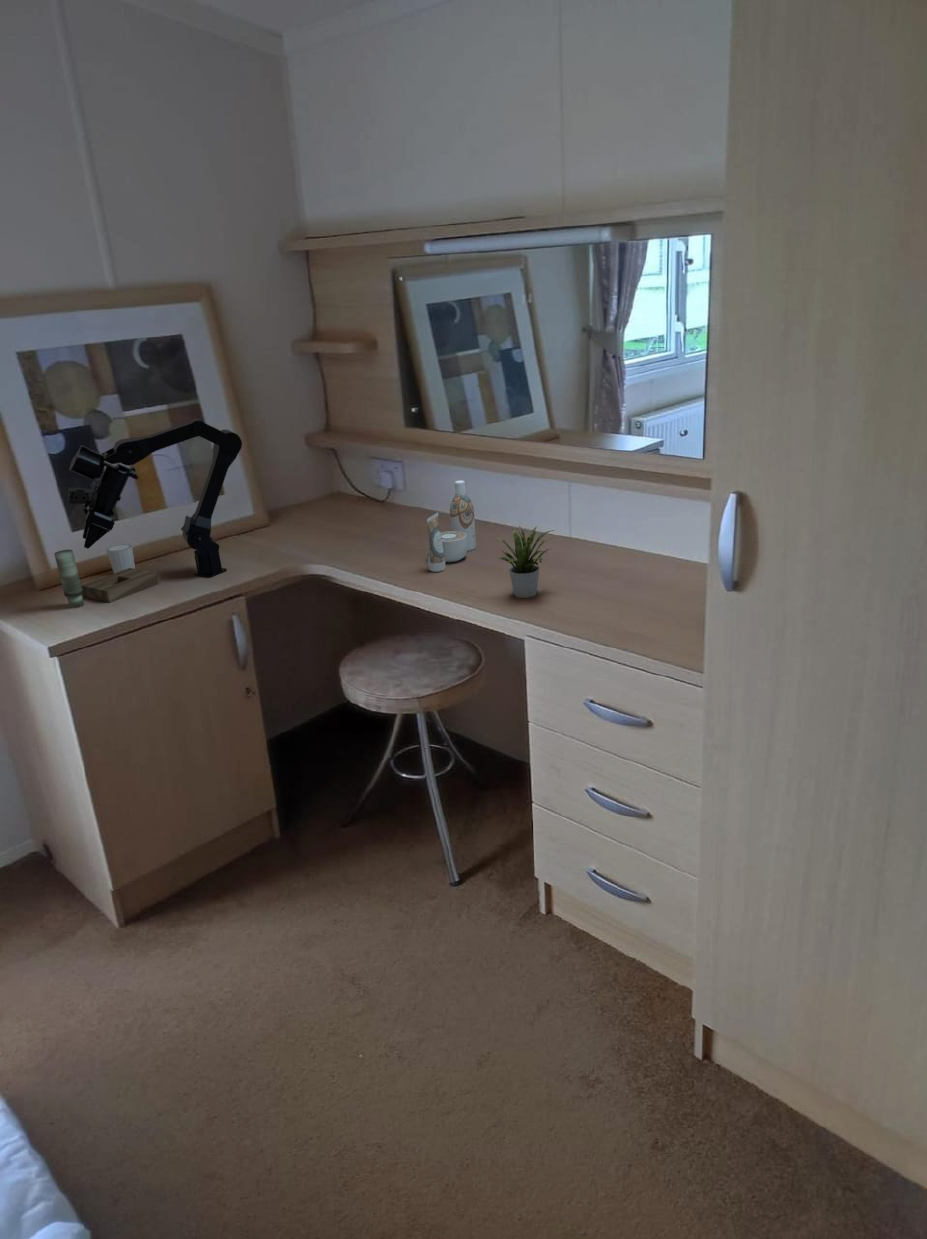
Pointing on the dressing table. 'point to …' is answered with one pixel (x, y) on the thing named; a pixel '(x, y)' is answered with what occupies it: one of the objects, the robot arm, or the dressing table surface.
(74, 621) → the dressing table surface
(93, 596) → the board
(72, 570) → the peg
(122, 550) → the shot glass
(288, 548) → the dressing table surface
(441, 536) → the cosmetic set
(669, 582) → the dressing table surface
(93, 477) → the robot arm
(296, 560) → the dressing table surface
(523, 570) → the house plant
